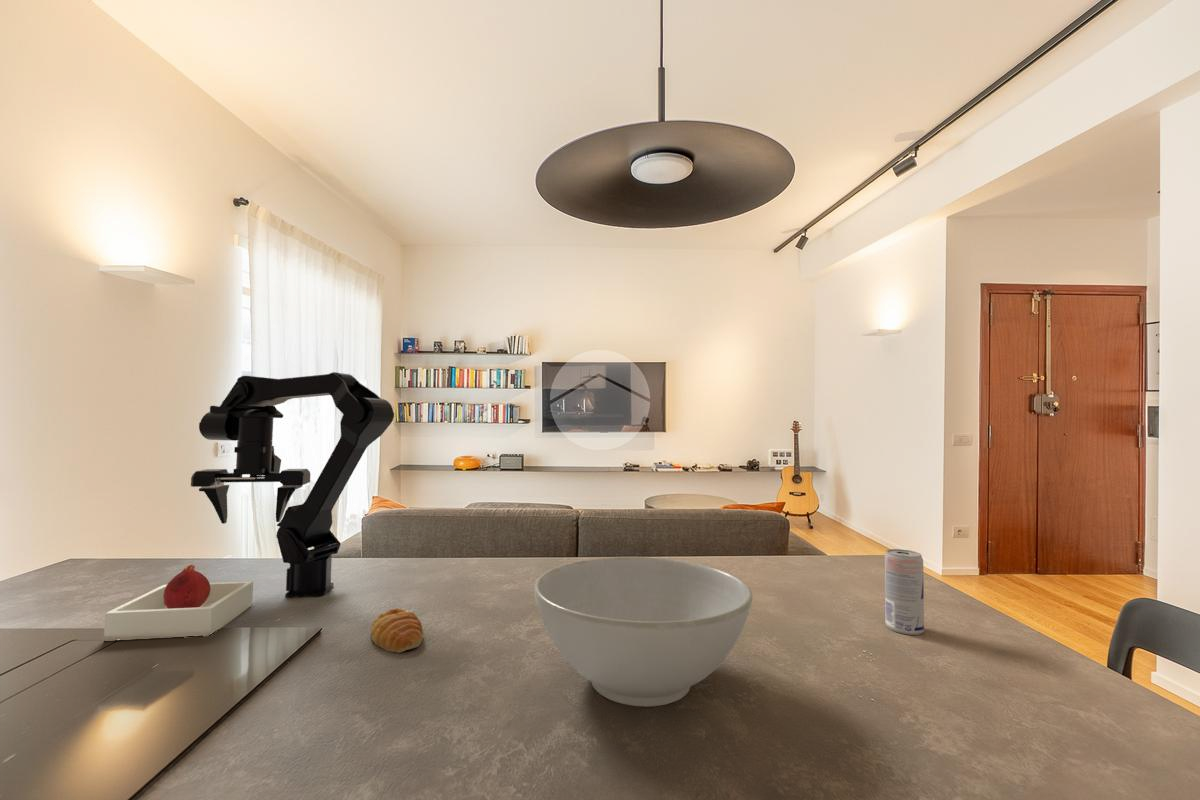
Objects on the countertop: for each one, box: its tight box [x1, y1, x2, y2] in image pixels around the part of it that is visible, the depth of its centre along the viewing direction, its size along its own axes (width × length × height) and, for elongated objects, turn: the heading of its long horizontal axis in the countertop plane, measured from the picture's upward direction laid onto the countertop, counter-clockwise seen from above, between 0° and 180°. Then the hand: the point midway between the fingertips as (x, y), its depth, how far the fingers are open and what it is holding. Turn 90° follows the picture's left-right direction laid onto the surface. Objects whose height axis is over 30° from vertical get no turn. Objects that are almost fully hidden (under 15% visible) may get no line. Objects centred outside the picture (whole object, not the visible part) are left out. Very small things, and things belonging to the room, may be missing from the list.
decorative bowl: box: [533, 556, 753, 708], centre depth 67 cm, size 27×27×12 cm
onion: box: [163, 563, 211, 609], centre depth 84 cm, size 6×6×8 cm
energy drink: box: [884, 548, 925, 636], centre depth 85 cm, size 5×5×12 cm
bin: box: [103, 580, 254, 640], centre depth 84 cm, size 14×14×4 cm
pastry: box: [370, 608, 424, 654], centre depth 78 cm, size 9×7×4 cm
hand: (251, 522), depth 103 cm, fingers open, 9 cm apart
